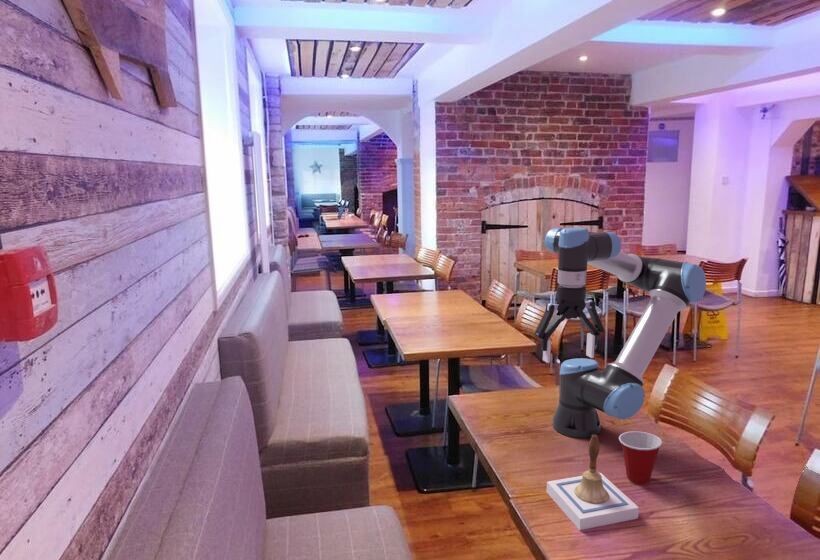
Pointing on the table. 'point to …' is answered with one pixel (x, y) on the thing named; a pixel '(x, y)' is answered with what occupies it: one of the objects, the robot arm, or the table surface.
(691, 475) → the table surface
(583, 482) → the hand bell
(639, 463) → the plastic cup
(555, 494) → the display board
